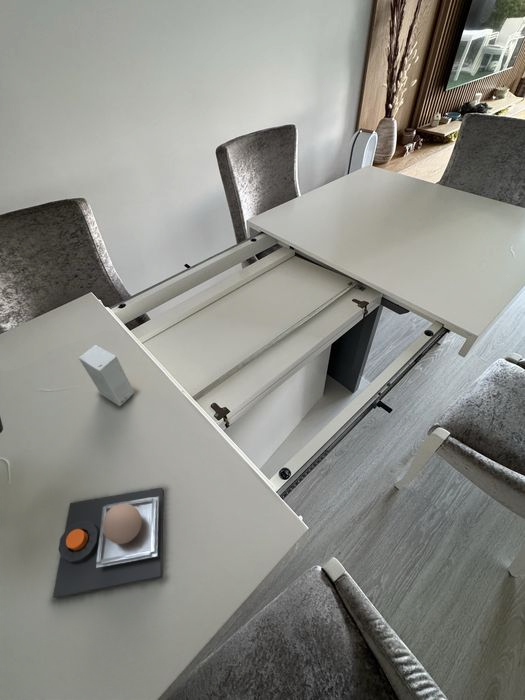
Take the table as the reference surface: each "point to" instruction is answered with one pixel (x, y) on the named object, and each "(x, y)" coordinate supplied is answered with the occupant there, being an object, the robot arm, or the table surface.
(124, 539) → the egg
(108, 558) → the brushed steel platform
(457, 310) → the table surface
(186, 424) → the table surface
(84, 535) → the button
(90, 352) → the cosmetic box
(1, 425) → the robot arm
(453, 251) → the table surface
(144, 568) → the scale
